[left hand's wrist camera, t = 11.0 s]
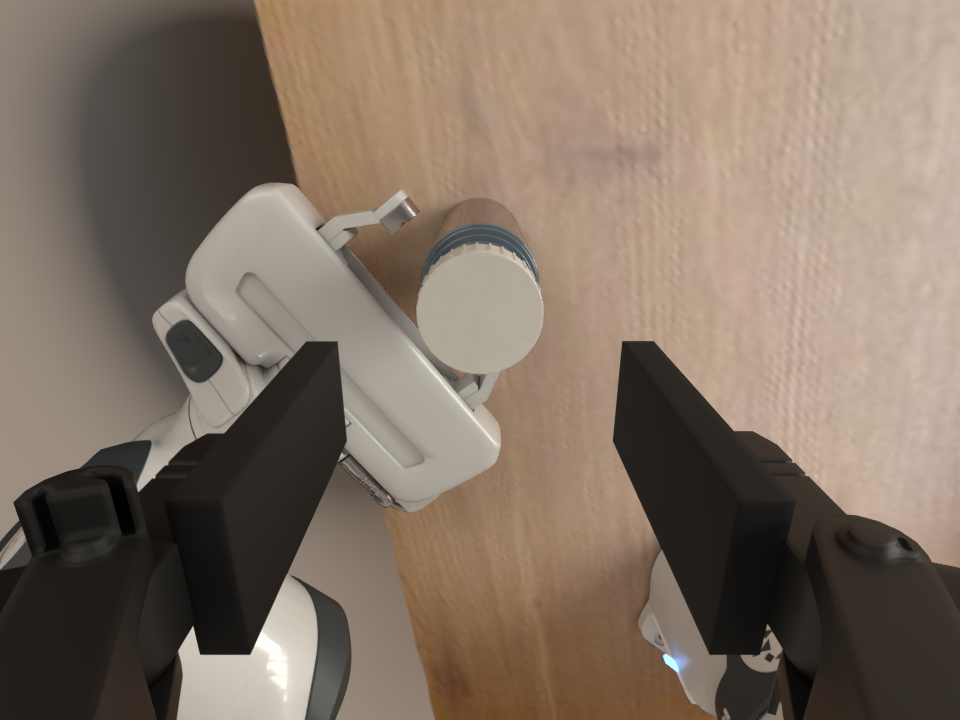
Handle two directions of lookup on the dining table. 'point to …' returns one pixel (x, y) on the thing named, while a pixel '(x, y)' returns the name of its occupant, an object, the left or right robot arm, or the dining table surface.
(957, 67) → the dining table surface
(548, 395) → the dining table surface
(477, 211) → the bottle
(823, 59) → the dining table surface
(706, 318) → the dining table surface
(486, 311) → the cap
